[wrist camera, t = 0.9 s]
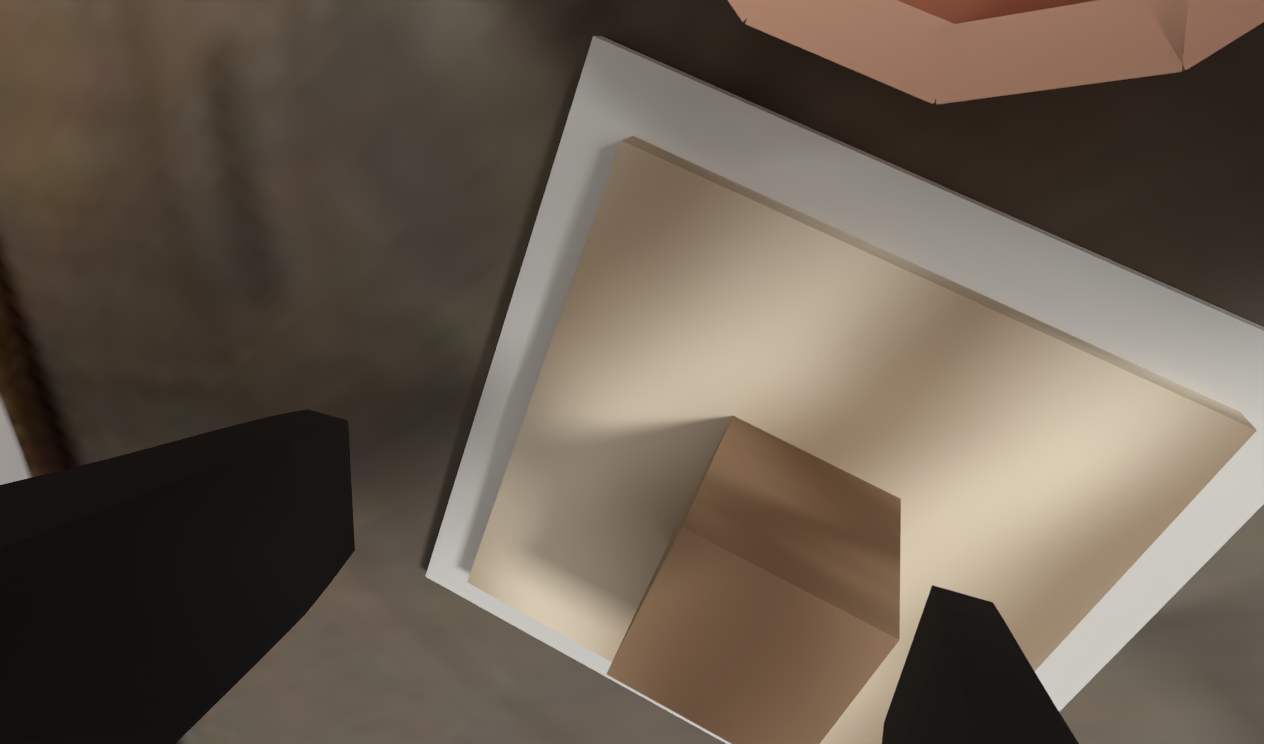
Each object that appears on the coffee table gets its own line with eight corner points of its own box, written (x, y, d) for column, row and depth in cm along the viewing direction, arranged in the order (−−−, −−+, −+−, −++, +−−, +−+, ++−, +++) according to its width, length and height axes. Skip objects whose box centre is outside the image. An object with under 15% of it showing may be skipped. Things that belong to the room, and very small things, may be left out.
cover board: (1239, 411, 15) (1394, 582, 10) (897, 793, 21) (895, 1009, 16) (633, 135, 16) (525, 173, 12) (480, 565, 22) (370, 702, 18)
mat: (1367, 372, 14) (1382, 383, 14) (921, 835, 22) (921, 852, 21) (601, 36, 16) (593, 35, 16) (434, 566, 24) (425, 576, 23)
